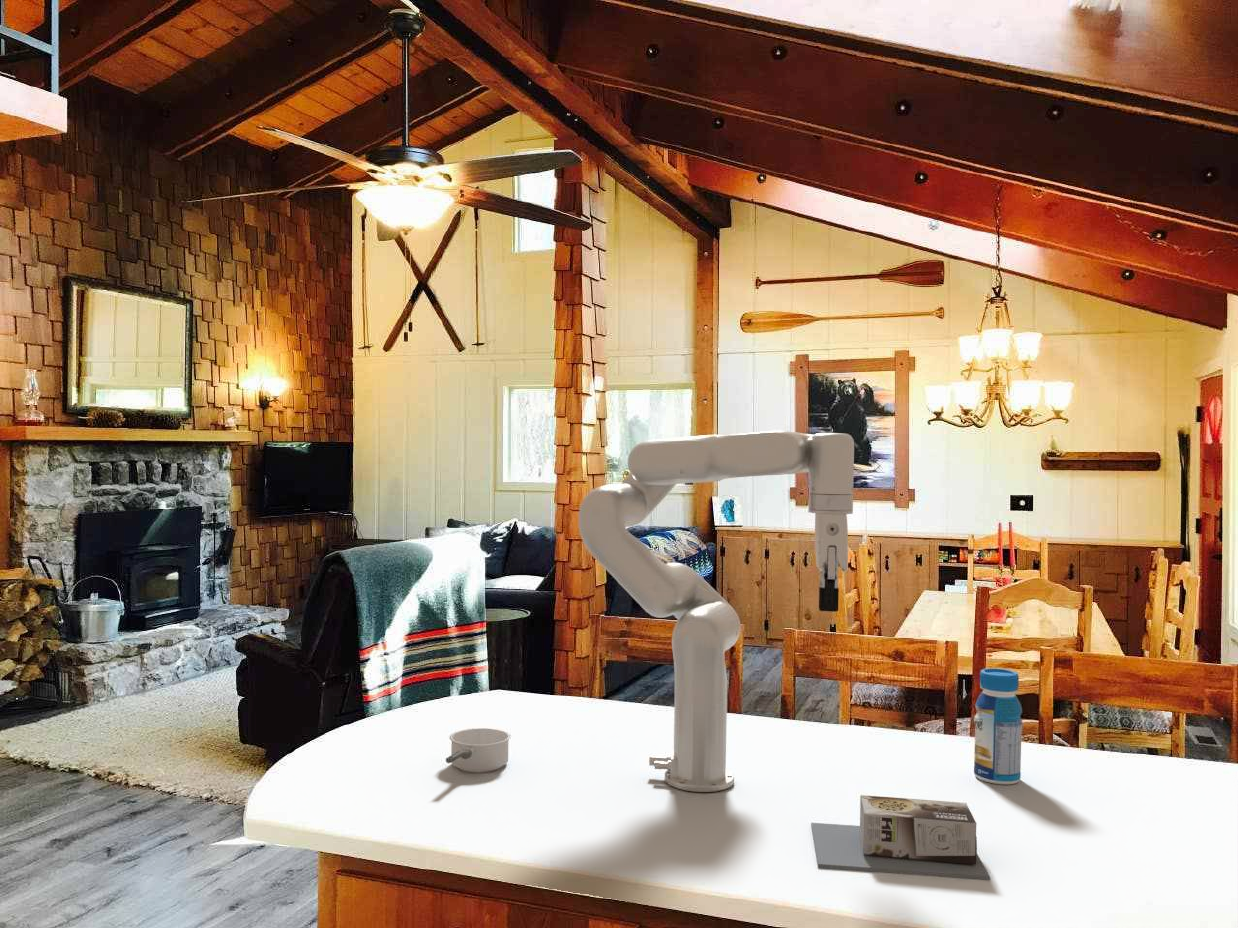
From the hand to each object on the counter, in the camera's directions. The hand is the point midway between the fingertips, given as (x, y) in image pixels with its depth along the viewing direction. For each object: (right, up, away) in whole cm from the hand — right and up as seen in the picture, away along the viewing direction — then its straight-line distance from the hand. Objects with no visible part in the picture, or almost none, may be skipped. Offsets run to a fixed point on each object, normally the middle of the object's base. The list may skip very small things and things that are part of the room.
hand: (828, 610), depth 169 cm
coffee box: (+1, -30, -20) cm, 36 cm away
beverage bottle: (+35, -34, +14) cm, 50 cm away
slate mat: (+6, -34, -21) cm, 40 cm away
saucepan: (-64, -32, +12) cm, 72 cm away
